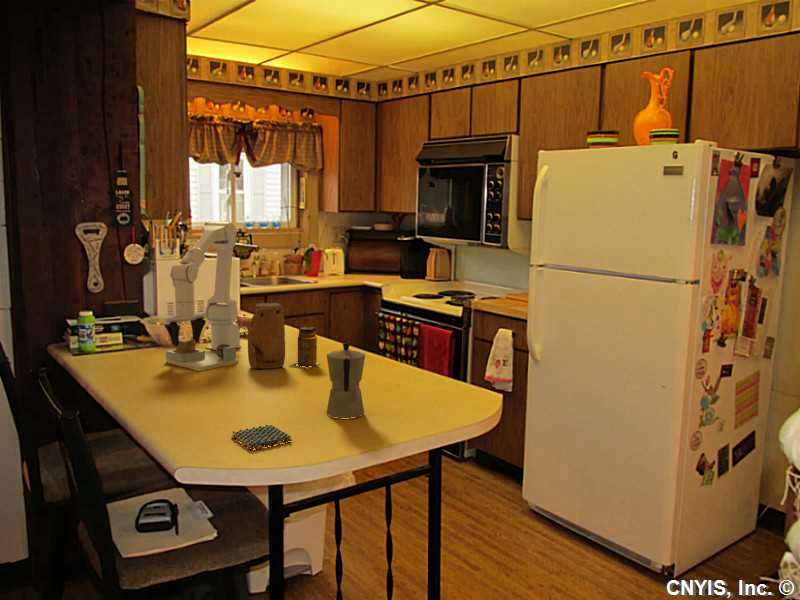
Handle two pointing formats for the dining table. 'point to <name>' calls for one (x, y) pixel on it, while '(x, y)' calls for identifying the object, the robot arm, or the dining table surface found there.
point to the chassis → (202, 358)
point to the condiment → (306, 347)
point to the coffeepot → (345, 383)
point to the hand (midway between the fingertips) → (185, 343)
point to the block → (267, 337)
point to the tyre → (221, 350)
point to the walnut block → (185, 346)
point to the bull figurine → (243, 321)
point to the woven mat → (261, 437)
